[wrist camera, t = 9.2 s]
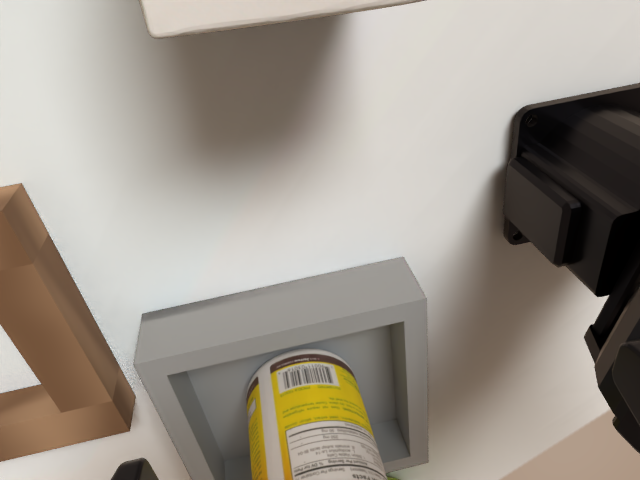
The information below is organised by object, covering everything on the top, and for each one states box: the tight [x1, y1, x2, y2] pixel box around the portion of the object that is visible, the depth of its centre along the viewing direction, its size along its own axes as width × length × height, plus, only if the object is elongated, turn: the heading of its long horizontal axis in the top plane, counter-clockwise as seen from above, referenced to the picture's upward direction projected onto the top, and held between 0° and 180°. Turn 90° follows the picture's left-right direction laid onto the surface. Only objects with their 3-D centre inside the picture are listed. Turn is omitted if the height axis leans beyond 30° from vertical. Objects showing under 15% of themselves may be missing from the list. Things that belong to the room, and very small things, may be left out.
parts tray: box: [133, 257, 428, 480], centre depth 24 cm, size 12×12×3 cm
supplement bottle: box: [246, 348, 388, 480], centre depth 21 cm, size 6×6×10 cm
